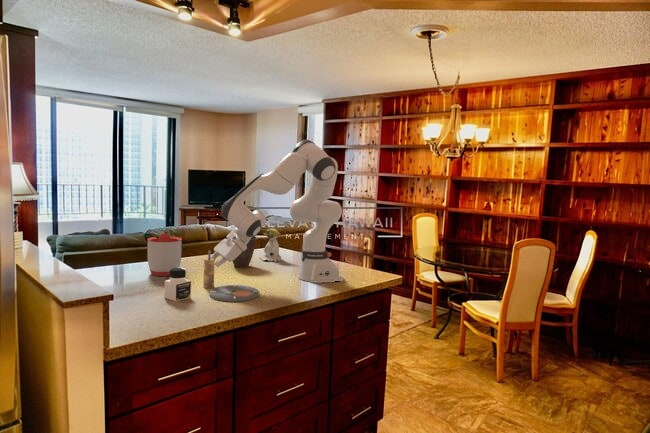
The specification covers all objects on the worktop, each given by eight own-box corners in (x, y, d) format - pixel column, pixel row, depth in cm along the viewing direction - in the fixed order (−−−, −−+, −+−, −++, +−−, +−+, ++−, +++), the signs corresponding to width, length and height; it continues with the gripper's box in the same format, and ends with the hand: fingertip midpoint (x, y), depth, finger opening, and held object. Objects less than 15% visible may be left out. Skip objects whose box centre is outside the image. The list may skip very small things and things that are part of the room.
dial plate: (257, 287, 186) (257, 284, 186) (260, 301, 167) (260, 298, 166) (210, 287, 182) (210, 284, 181) (208, 302, 162) (208, 298, 162)
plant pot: (261, 266, 227) (262, 237, 225) (241, 271, 214) (243, 240, 212) (241, 262, 235) (241, 233, 233) (221, 266, 222) (222, 236, 220)
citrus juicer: (176, 268, 213) (176, 229, 211) (185, 276, 199) (186, 234, 197) (143, 270, 205) (143, 230, 202) (150, 279, 190) (150, 235, 188)
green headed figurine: (276, 256, 254) (277, 226, 252) (284, 261, 243) (286, 230, 241) (257, 257, 249) (258, 227, 247) (265, 262, 237) (266, 230, 235)
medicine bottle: (176, 302, 160) (176, 271, 159) (164, 298, 164) (164, 268, 163) (190, 297, 166) (191, 268, 165) (179, 294, 170) (179, 265, 169)
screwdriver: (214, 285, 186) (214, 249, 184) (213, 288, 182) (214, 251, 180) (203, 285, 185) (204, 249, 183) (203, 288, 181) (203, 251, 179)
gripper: (224, 232, 194) (202, 254, 190) (238, 239, 176) (214, 263, 172) (233, 241, 197) (212, 263, 193) (248, 249, 179) (224, 273, 175)
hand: (213, 263), depth 182 cm, fingers open, 8 cm apart
